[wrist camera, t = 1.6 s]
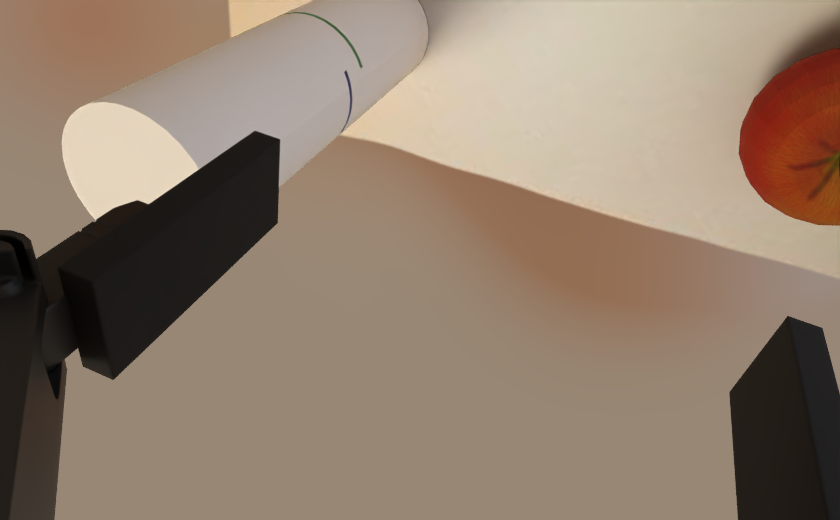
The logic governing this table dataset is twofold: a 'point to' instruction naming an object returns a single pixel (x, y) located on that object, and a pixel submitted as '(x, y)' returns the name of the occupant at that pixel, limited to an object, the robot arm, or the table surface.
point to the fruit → (797, 140)
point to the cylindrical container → (244, 99)
